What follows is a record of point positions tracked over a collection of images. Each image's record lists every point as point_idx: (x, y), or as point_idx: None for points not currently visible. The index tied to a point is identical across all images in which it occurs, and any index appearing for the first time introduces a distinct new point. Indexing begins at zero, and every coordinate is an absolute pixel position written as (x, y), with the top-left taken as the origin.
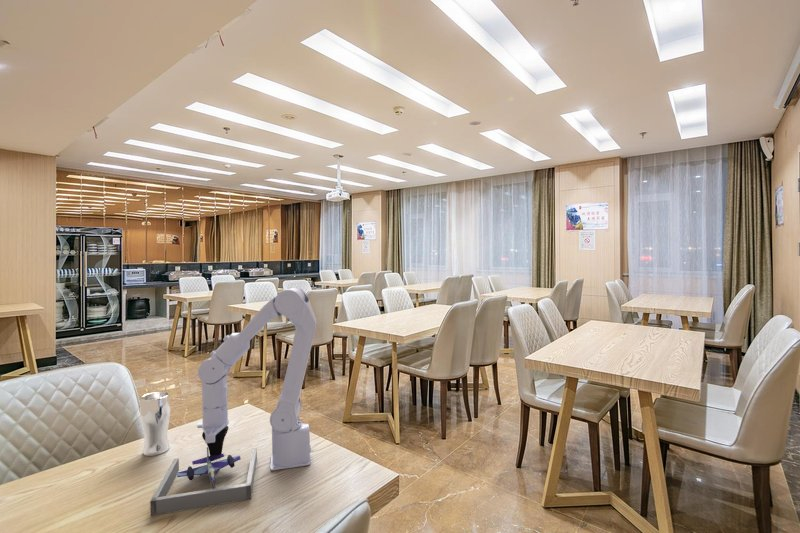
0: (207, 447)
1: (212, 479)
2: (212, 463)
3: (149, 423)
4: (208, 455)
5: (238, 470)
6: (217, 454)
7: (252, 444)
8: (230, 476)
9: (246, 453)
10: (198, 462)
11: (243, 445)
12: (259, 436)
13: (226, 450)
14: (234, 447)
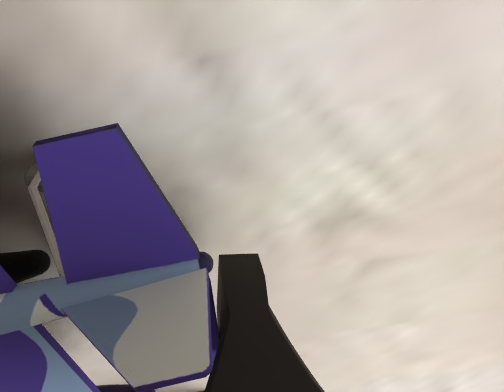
0: (200, 375)
1: None
2: (12, 336)
3: None
4: (91, 342)
5: None
6: (221, 329)
7: (420, 362)
8: None
9: (320, 356)
10: (71, 207)
11: (441, 330)
12: (497, 372)
13: (440, 260)
14: (451, 294)
